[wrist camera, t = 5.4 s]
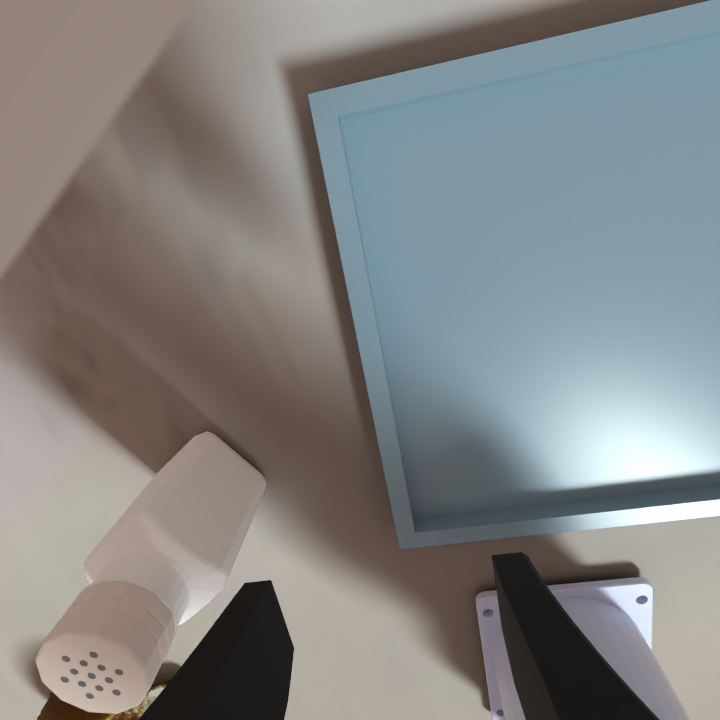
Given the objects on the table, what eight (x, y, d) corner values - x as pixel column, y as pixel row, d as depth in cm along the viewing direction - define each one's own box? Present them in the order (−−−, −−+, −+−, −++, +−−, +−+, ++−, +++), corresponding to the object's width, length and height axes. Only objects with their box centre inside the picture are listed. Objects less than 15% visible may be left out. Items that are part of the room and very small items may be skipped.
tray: (821, 478, 20) (854, 501, 18) (399, 526, 22) (399, 549, 21) (902, -33, 14) (959, -58, 13) (314, 102, 16) (307, 94, 15)
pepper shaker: (275, 478, 22) (192, 682, 13) (220, 525, 23) (110, 743, 14) (208, 421, 21) (69, 596, 12) (155, 473, 22) (-8, 669, 13)
